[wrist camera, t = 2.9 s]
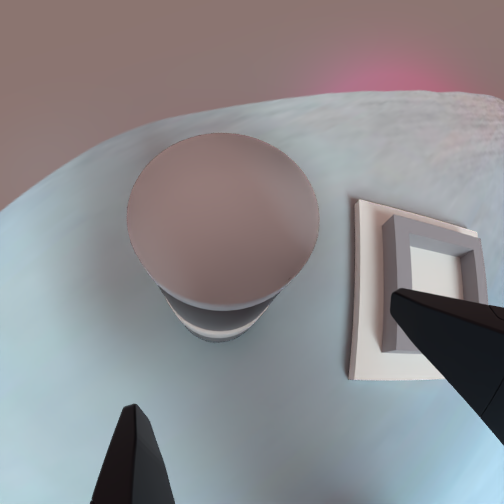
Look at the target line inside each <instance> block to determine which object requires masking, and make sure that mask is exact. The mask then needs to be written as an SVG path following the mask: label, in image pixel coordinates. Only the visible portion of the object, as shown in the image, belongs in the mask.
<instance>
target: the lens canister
mask: <svg viewBox="0 0 504 504" xmlns="http://www.w3.org/2000/svg"><path fill="white" fill-rule="evenodd" d="M127 226H128V233H129V237H130V241H131V244H132V246H133V248H134V251H135V253H136V255H137V256H138V258H139V260H140V261H141V263H142V265H143V266H144V268H145V269H146V271H147V272H148V274H149V275H150V277H151V278H152V279H153V280H154V281H155V282H156V284H157V285H158V287H159V288H160V290H161V291H162V293H163V294H164V296H165V298H166V300H167V302H168V304H169V305H170V307H171V308H172V310H173V311H174V313H175V314H176V315H177V317H178V318H179V320H180V321H181V322H182V323H183V324H184V325H185V327H186V328H187V329H188V330H189V331H190V332H191V333H192V334H194V335H195V336H197V337H198V338H201V339H203V340H206V341H210V342H226V341H230V340H233V339H235V338H237V337H239V336H240V335H242V334H243V333H244V332H245V331H247V330H248V328H249V327H251V326H252V325H253V324H254V323H255V322H256V321H257V320H258V318H259V317H260V316H261V315H262V314H263V313H264V312H265V310H266V309H267V308H268V306H269V304H270V303H271V302H272V301H273V300H274V298H275V297H276V296H277V295H278V294H279V292H280V291H281V290H283V289H284V288H285V287H286V286H287V285H288V284H289V283H290V282H291V281H292V280H293V279H294V277H295V276H296V275H297V274H298V273H299V271H300V270H301V269H302V268H303V266H304V265H305V264H306V262H307V261H308V259H309V257H310V255H311V253H312V251H313V249H314V246H315V243H316V241H317V236H318V231H319V208H318V203H317V199H316V195H315V193H314V190H313V188H312V186H311V184H310V182H309V180H308V179H307V177H306V175H305V174H304V173H303V171H302V170H301V169H300V167H299V166H298V165H297V164H296V163H295V162H294V161H293V160H292V159H291V158H289V157H288V156H287V155H286V154H285V153H283V152H282V151H280V150H279V149H277V148H276V147H274V146H272V145H270V144H268V143H266V142H264V141H261V140H258V139H256V138H252V137H249V136H245V135H239V134H231V133H211V134H205V135H199V136H195V137H191V138H188V139H186V140H183V141H180V142H178V143H176V144H174V145H172V146H170V147H169V148H167V149H166V150H164V151H163V152H161V153H160V154H159V155H157V156H156V157H155V158H154V159H153V160H152V161H151V162H150V163H149V164H148V165H147V166H146V167H145V168H144V170H143V171H142V173H141V174H140V175H139V177H138V179H137V181H136V183H135V184H134V186H133V189H132V192H131V195H130V198H129V203H128V207H127Z"/></svg>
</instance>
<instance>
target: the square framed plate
mask: <svg viewBox="0 0 504 504" xmlns="http://www.w3.org/2000/svg"><path fill="white" fill-rule="evenodd" d="M354 207H355V289H354V313H353V330H352V345H351V357H350V368H349V378H348V380H433V379H445V378H444V376H443V375H442V374H441V373H440V372H439V371H438V370H437V369H436V368H435V367H434V366H433V365H432V364H431V362H430V361H429V360H428V359H427V358H426V357H425V356H424V355H423V354H422V353H421V352H420V351H419V350H418V349H417V348H416V346H415V345H414V344H413V343H412V342H411V340H410V339H409V338H408V337H407V335H406V334H405V333H404V331H403V330H402V329H401V328H400V326H399V325H398V324H397V322H396V321H395V320H394V319H393V317H392V316H391V314H390V301H391V294H392V292H394V291H395V290H397V289H399V288H406V289H411V290H416V291H421V292H426V293H431V294H436V295H441V296H446V297H451V298H456V299H461V300H466V301H471V302H477V303H482V304H487V305H488V295H487V284H486V274H485V266H484V259H483V252H482V245H481V239H480V238H478V235H477V232H475V231H471V230H468V229H465V228H462V227H459V226H456V225H452V224H449V223H446V222H442V221H439V220H435V219H432V218H429V217H425V216H422V215H418V214H414V213H411V212H407V211H403V210H400V209H396V208H392V207H388V206H384V205H380V204H376V203H372V202H368V201H364V200H360V199H359V200H358V201H357V203H356V204H355V205H354Z"/></svg>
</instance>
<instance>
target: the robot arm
mask: <svg viewBox="0 0 504 504" xmlns="http://www.w3.org/2000/svg"><path fill="white" fill-rule="evenodd" d="M390 314H391V316H392V317H393V319H394V320H395V321H396V322H397V324H398V325H399V326H400V328H401V329H402V330H403V331H404V333H405V334H406V335H407V337H408V338H409V339H410V340H411V342H412V343H413V344H414V345H415V346H416V348H417V349H418V350H419V351H420V352H421V353H422V354H423V355H424V356H425V357H426V358H427V359H428V360H429V361H430V362H431V364H432V365H433V366H434V367H435V368H436V369H437V370H438V371H439V372H440V373H441V374H442V375H443V376H444V378H445V379H446V380H447V381H448V382H449V383H450V384H451V385H452V386H453V387H454V389H455V390H456V391H457V392H458V393H459V394H460V395H461V396H462V397H463V399H464V400H465V401H466V402H467V403H468V404H469V405H470V406H471V408H472V409H473V410H474V411H475V412H476V413H477V414H478V416H479V417H480V418H481V419H482V420H483V421H484V423H485V424H486V425H487V426H488V427H489V428H490V430H491V431H492V432H493V433H494V434H495V436H496V437H497V438H498V439H499V440H500V442H501V443H502V444H503V445H504V308H503V307H497V306H492V305H487V304H482V303H477V302H471V301H466V300H461V299H456V298H451V297H446V296H441V295H436V294H431V293H426V292H421V291H416V290H411V289H406V288H399V289H397V290H395V291H394V292H392V294H391V301H390ZM90 504H175V501H174V498H173V494H172V490H171V487H170V483H169V479H168V475H167V471H166V467H165V464H164V461H163V458H162V455H161V453H160V450H159V447H158V444H157V441H156V438H155V435H154V432H153V429H152V426H151V423H150V421H149V419H148V418H147V416H146V415H145V414H144V413H143V411H142V410H141V409H140V407H139V406H138V405H137V404H131V405H128V406H125V407H124V408H123V409H122V412H121V415H120V417H119V420H118V423H117V426H116V428H115V431H114V434H113V436H112V439H111V442H110V445H109V448H108V450H107V453H106V456H105V459H104V462H103V465H102V468H101V471H100V474H99V477H98V480H97V483H96V486H95V489H94V492H93V495H92V500H91V502H90Z"/></svg>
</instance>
